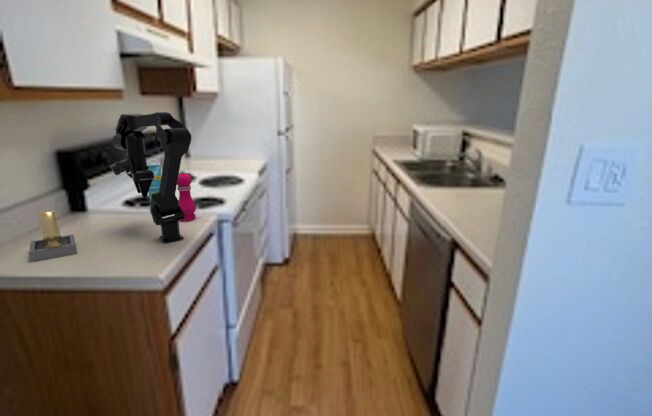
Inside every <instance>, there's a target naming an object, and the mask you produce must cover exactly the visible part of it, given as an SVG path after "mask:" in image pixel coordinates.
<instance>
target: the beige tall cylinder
mask: <svg viewBox="0 0 652 416" xmlns="http://www.w3.org/2000/svg"><path fill="white" fill-rule="evenodd" d="M37 215H38V220H39V226H40V231H41V234H42V239H43V240H44V245H45V248H51V247H57V246H62V241H61V232H60V227H59V221H58V216H57V211H56V209H47V210H41V211H38V212H37Z"/></svg>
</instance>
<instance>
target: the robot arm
mask: <svg viewBox="0 0 652 416" xmlns="http://www.w3.org/2000/svg"><path fill="white" fill-rule="evenodd" d="M164 126H168V127H169V128H163V127H164ZM148 127H155V135H156V137H157V138H158V140H159V141H160V146H161V149H162V150H163V152H164V156H163V164H162V168H161V182H160V189H159V192H158V193H154V194H152V196H151V203H150V202H149V205H150V204H151V205H150V208H149V211H150V212H149V213H150V214H151V217H152V220H153V221H152V222H153V223H154V225H156V226H160V230H161V235H159V239H160V240H161V242H162V243H171V242H176V241H180V240H184V237H183V236H182V235H181V230H180V220H184V218H185V214H184V212H183V211H182V209H181V207H180V206H179V201H178V200H179V198H177V196H176V192H177V187H178V185H177V181H178V175H179V174H180V171H181V170H180V169H181V163H182V159H183V156H184V155H186V153H187V152H188V151H189V149H190V146H191V142H192V134H191V132H190V131H189V129H188V128H187V127H186V126H185V124H184V123H182V122H181V121H179V120H177V119H176V118H175V117H173V115H172V114H171V113H170V112H167V111H164V112H163V111H160V112H159V111H157V112H153V113H149V114H148V113H147V114H142V113H128V114H127V113H122V114H121V115H119V118H118V120H117V124H116V127H115V134H114V136H113V137H112V141H111V143H112V145H113V146H114V148H116V149H117V150H122V151H126V155H125V158H124V159H122V160H119V161H117V162H114V163H112V164H110V165H109V167H110V169H111V171H112V172H113V174H114V175H115V176H118V175H120V174H122V173H124V172H125V174H126V175H127V176H128V177H130V178H131V179H132V181H133V184H134V186H135V188H136V191H137V194H141V196H142V197H141V198H143V199H146V198H147V196H148V195H149V192H148V191H149V189H150V186H151V183H152V180H153V178H154V173H153V172H152V171H151V170H149V167H148V166H147V165H148V163H147V158H148V154H147V152H146V147H145V139H147V136H146V134H144V133H143V131H145V130H147V129H148Z"/></svg>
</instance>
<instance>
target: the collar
mask: <svg viewBox="0 0 652 416" xmlns="http://www.w3.org/2000/svg"><path fill="white" fill-rule="evenodd" d="M60 236H61V235H60ZM61 241H62V246H57V247H51V248H45V245H44V240H43V238H42V239H36V240H31V241H30V243H29V252H28V254H29V256H30V261H31V262H30V263H33V262H32V261H34V262H39V260H40V261H43V260H45V261H46V260H49V259H50V258H51V259H55V258H60V257H66V256H71V255H77V254H78V250H77V243H76V238H75V234H67V235H62V236H61Z"/></svg>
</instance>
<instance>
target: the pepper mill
mask: <svg viewBox="0 0 652 416" xmlns="http://www.w3.org/2000/svg"><path fill="white" fill-rule="evenodd" d="M192 180H193V179H192V177H191V175H190V174H188V173H186V171H185V169H181V170H179V175H178V181H177V187H176V191H178V194H179V195H178V201H179V206H180V207H181V209H182V211H183V212H184V214H185V218H184V220H179V222H183V221H186V222H192V221H195V220H196V219H197V218H196V214H195V212H196V210H197V206H196V204H195V202H194V200H193V198H192V195H191V194H192V193H191V189H192V186H191V184H192Z"/></svg>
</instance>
